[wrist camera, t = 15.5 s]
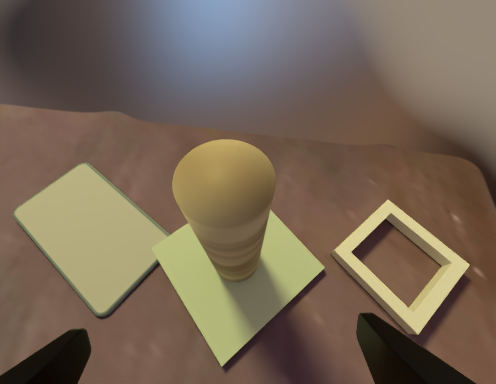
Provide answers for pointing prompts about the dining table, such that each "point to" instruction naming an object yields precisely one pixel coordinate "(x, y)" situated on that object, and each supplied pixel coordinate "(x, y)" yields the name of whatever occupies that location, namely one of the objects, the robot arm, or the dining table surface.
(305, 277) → the mat
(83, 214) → the sticky note pad
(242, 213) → the tan dome-topped cylinder
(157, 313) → the dining table surface
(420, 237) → the cream rectangular frame
